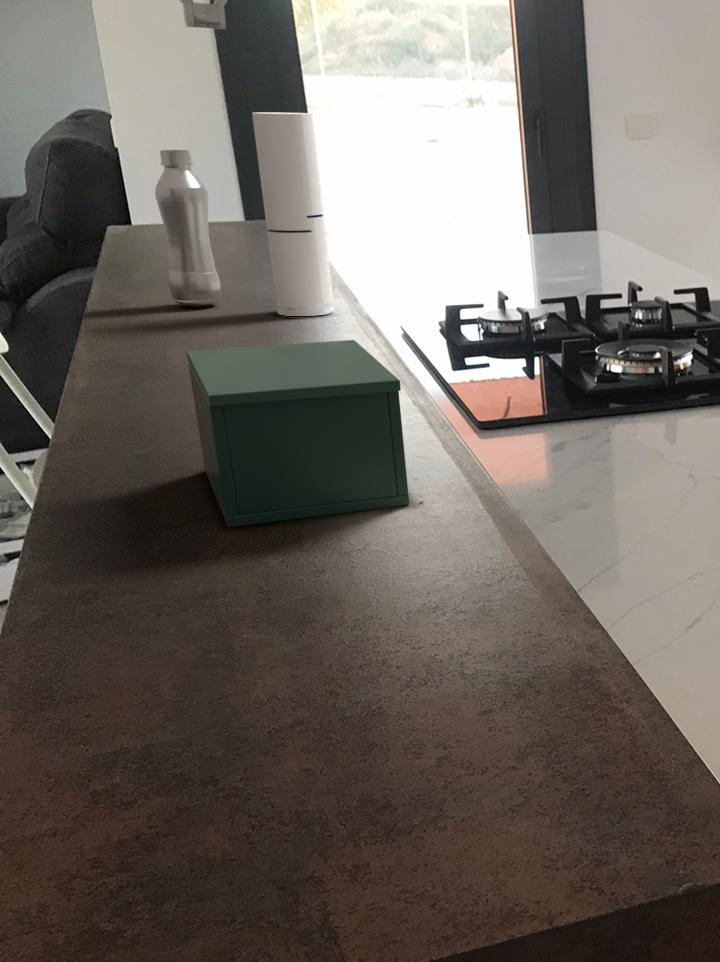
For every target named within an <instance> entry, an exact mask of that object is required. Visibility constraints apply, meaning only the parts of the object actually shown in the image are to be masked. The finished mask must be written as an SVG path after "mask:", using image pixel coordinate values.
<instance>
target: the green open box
mask: <svg viewBox="0 0 720 962" xmlns="http://www.w3.org/2000/svg"><path fill="white" fill-rule="evenodd" d="M187 362H188V363H187V365H188V371H189V376H190V382H191V383H190V384H191V389H192V395H193V402H194V409H195V414H196V421H197V427H198V428H197V429H198V433H199V440H200V446H201V452H202V459H203V465H204V471H205V474H206V477H207V479H208V481H209V484H210V486H211V488H212V491H213V494H214V496H215V498H216V501H217V504H218V506H219V509H220V510H221V513H222V516H223V518H224V520H225V523H226V526H227V528H235V527H244V526H250V525H258V524H260V525H261V524H267V523H274V522H275V523H276V522H281V521H282V522H283V521H284V522H285V521H291V520H300V519H307V518H314V517H324V516H331V515H338V514H346V513H348V514H349V513H354V512H356V513H357V512H363V511H371V510H378V509H386V508H395V507H402V506H403V507H404V506H409V505H410V495H409V487H408V486H409V485H408V475H407V473H408V472H407V466H406V453H405V443H404V433H403V421H402V412H401V402H400V401H401V400H400V391H392V392H380V393H369V394H357V395H345V396H333V397H322V398H310V399H298V400H287V401H275V402H263V403H251V404H240V405H228V406H216V407H211V406H210V404H209V402H208V400H207V398H206V396H205V394H204V392H203V390H202V388H201V386H200V384H199V382H198V380H197V378H196V376H195V374H194V372H193V370H192V368H191V366H190V363H189V361H187Z"/></svg>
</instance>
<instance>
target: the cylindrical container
mask: <svg viewBox="0 0 720 962" xmlns="http://www.w3.org/2000/svg"><path fill="white" fill-rule="evenodd" d="M251 114H252V115H251V116H252V123H253V131H254V141H255V147H256V155H257V163H258V169H259V170H258V171H259V178H260V187H261V195H262V202H263V209H264V217H265V225H266V229H267V230H266V233H267V240H268V248H269V256H270V257H269V258H270V264H271V271H272V278H273V279H272V281H273V287H274V295H275V303H276V310H277V315H278V314H280V315H286V316H307V315H315V314H323V313H327V312H331V311H333V310H334V311H335V306H332V307H330V308H325V309H318V310H284V309H279V308H277V306H282V307H305V306H314V305H321V304H326V303H329V302H331V301H333V302H334V296H333V288H332V287H333V286H332V279H331V269H330V259H329V250H328V242H327V234H326V225H325V223H326V222H325V216H324V208H323V206H324V205H323V197H322V188H321V180H320V171H319V161H318V153H317V145H316V144H317V143H316V142H317V141H316V134H315V128H314V126H315V125H314V119H313V113H311V112H282V111H281V112H279V111H278V112H277V111H276V112H272V111H271V112H270V111H269V112H267V111H266V112H265V111H264V112H259V111H258V112H257V111H256V112H252V113H251ZM280 315H279V316H280ZM286 316H285V317H286Z"/></svg>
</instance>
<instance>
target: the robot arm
mask: <svg viewBox="0 0 720 962" xmlns="http://www.w3.org/2000/svg"><path fill="white" fill-rule="evenodd" d="M179 2H180V3H181V4H182V7H183V8H182V9H183V17H184V24H185V27H186V28H199V29H201V28H203V29H213V30H214V29H215V30H226V29H227V28H226V27H227V23H226V22H227V21H226V12H225V6H226V4H227V2H228V0H214V1H213V3H202V2H194V0H179Z"/></svg>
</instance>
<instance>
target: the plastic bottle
mask: <svg viewBox="0 0 720 962" xmlns="http://www.w3.org/2000/svg"><path fill="white" fill-rule="evenodd" d="M159 154H160V156H159V157H160V166H163V171H162V173H161V175H160V177H159V178H158V181H157V183H156V185H155V189H154V196H155V201H156V205H157V207H158V210H159V214H160V217H161V221H162V224H163V228H164V229H163V230H164V234H165V235H166V244H167V253H168V254H167V255H168V267H169V272H168V289H169V292H170V293H169V294H170V296H171V298H172V300H174V299H177V300H194V301H195V300H209V299H215V298H219V297H220V296H221V297H222V284H221V281H220V277H219V274H218V270H216V265H215V260H214V255H213V251H212V246H211V240H210V236H209V234H210V229H209V202H208V201H209V195H208V191H207V189H206V187H205V185H204V183H203V182H202V181H201V179H200V178H199V177H198V176H197V174H195V172H194V171H193V170H192V166H194V163H193V161H192V157H191V152H190V150H187V149H183V150H182V149H162V150H159ZM221 297H220V298H221ZM219 301H220V299H219V300H216V301H211V302H202V303H183V302H176V301H175V300H174V302H175V303H176V304H178V305H182V306H187V307H192V306H193V308H200V307H199V306H203V307H206V306H210V305H213V304H216V303H218V302H219Z"/></svg>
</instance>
